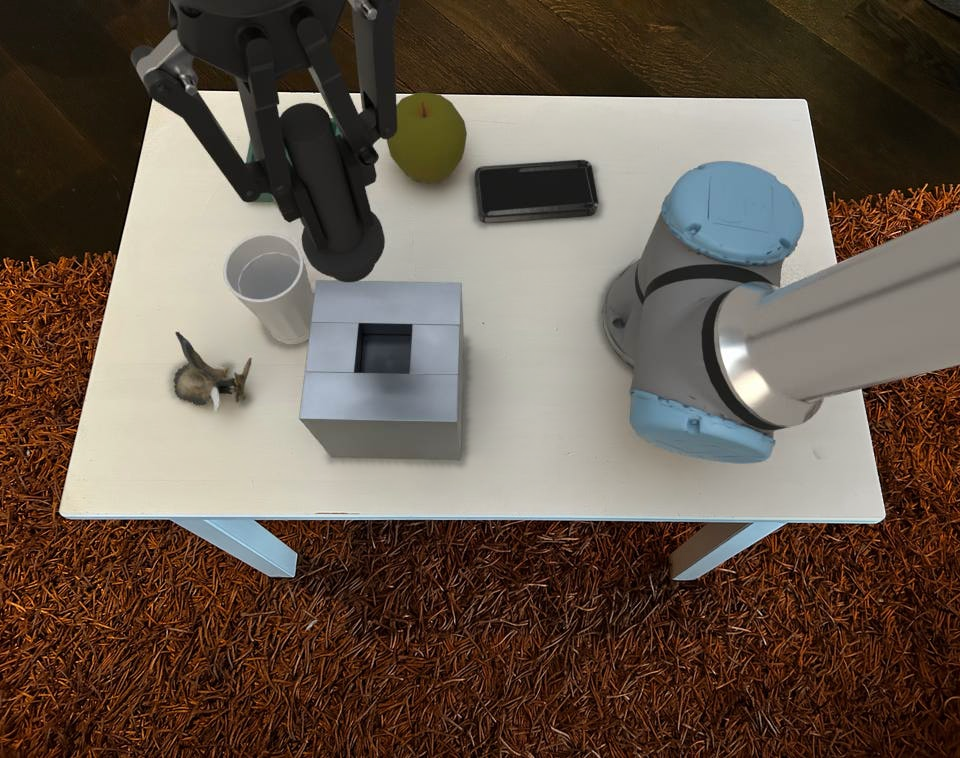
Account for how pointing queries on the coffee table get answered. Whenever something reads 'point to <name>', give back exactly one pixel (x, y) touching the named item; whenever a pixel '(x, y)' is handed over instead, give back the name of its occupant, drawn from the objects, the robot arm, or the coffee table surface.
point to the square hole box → (385, 369)
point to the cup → (272, 284)
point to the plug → (329, 196)
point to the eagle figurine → (205, 379)
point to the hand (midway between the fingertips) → (338, 223)
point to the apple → (427, 137)
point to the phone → (535, 191)
